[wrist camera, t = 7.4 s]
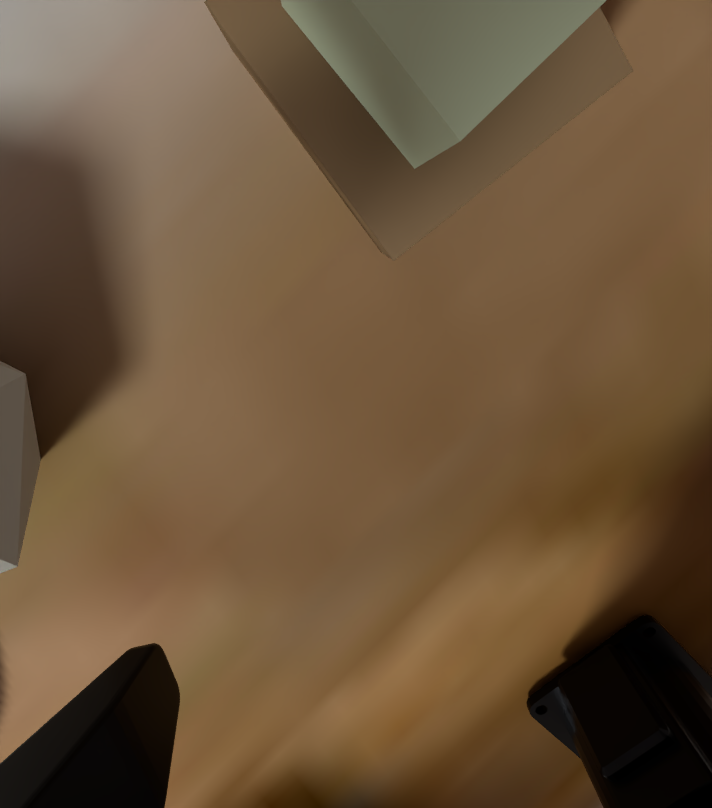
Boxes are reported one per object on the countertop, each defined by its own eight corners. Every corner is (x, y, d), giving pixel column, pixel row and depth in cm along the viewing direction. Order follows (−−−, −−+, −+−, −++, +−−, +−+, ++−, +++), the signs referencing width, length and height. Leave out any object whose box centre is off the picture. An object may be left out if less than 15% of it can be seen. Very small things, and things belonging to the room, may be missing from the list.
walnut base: (565, 104, 17) (633, 70, 13) (380, 252, 18) (393, 261, 14) (431, -129, 15) (466, -248, 11) (234, 53, 16) (204, 2, 12)
